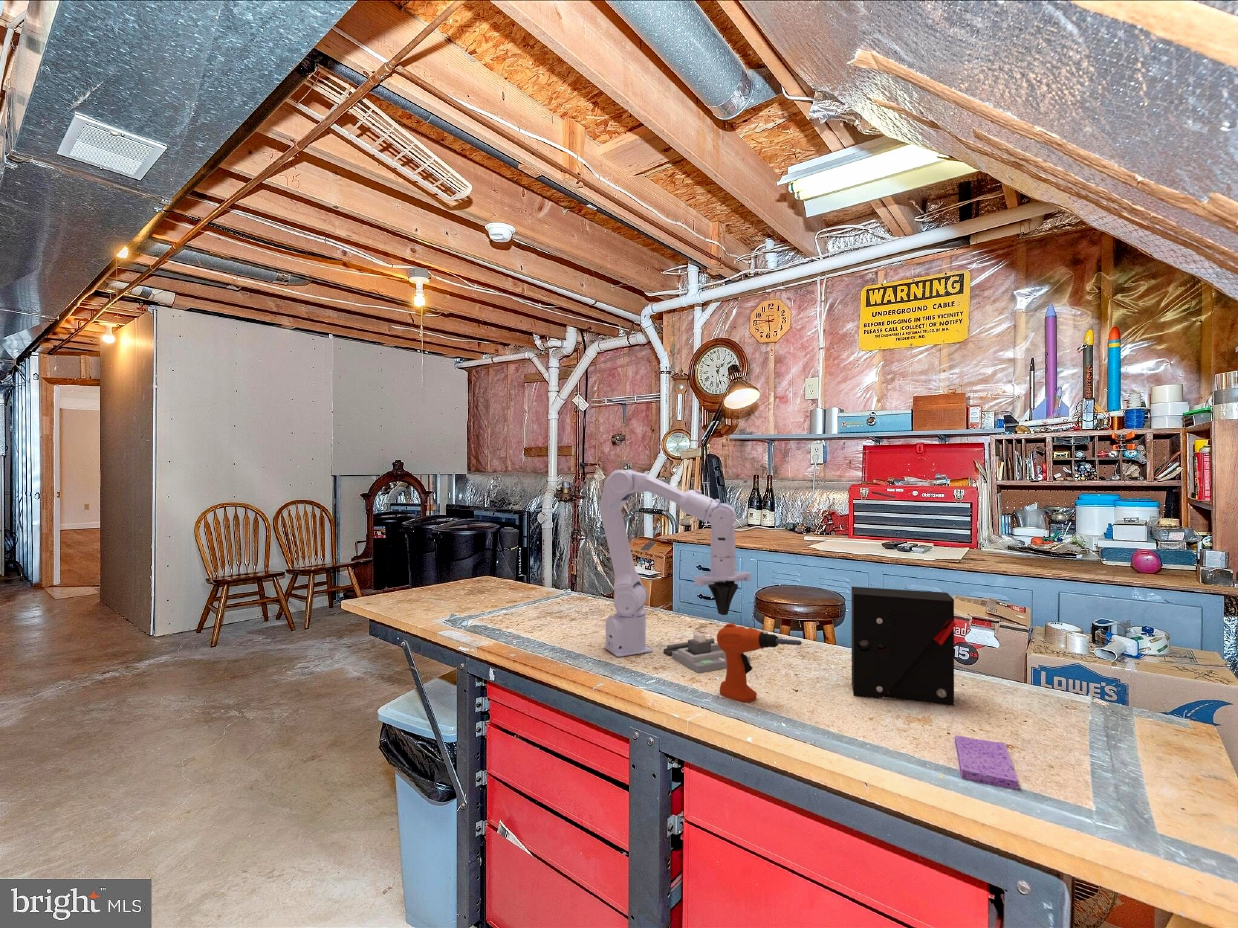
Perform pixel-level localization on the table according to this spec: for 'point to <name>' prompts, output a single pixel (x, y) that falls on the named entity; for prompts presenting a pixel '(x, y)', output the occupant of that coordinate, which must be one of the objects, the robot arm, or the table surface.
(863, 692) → the electrical component
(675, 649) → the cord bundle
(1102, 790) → the table surface
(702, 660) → the breaker panel
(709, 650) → the breaker slider
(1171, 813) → the table surface
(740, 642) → the toy drill
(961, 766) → the sponges
